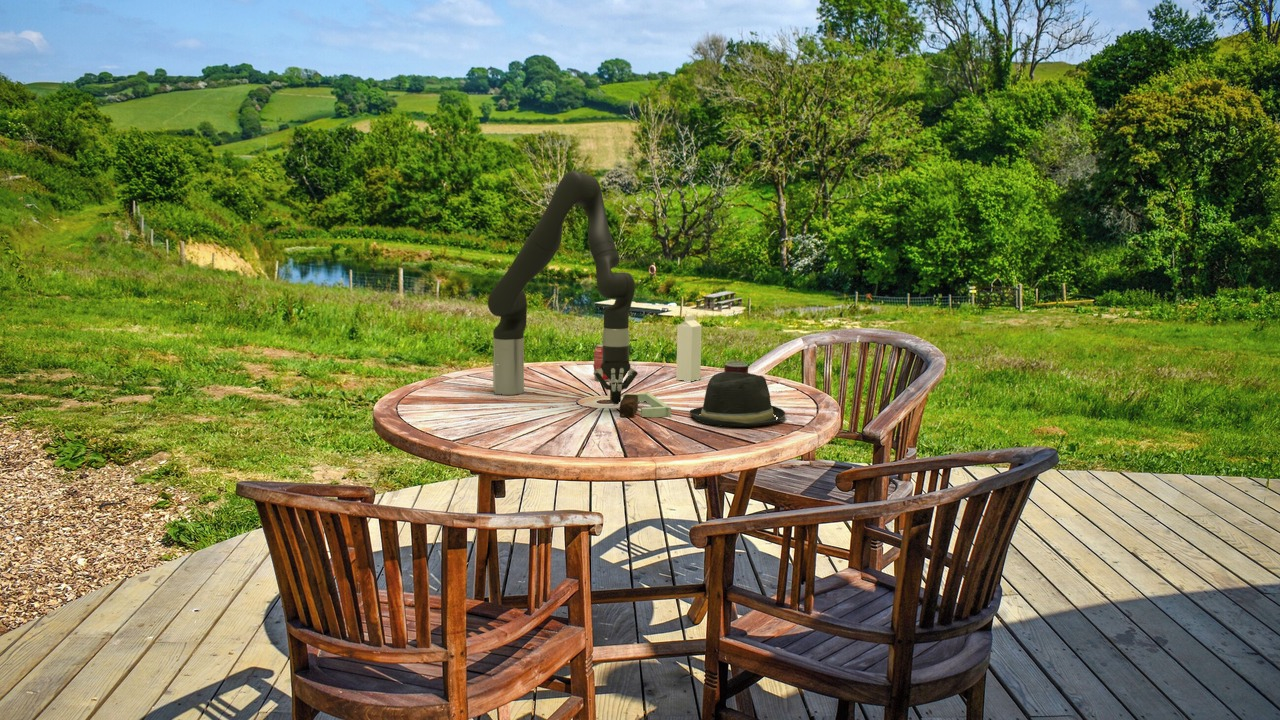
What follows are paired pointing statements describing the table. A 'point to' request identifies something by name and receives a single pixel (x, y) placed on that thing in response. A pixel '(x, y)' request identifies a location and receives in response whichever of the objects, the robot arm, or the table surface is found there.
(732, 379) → the fedora
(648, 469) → the table surface
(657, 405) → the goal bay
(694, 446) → the table surface
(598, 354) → the soda can
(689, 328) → the milk
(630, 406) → the brick
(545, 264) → the robot arm
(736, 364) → the soda can
